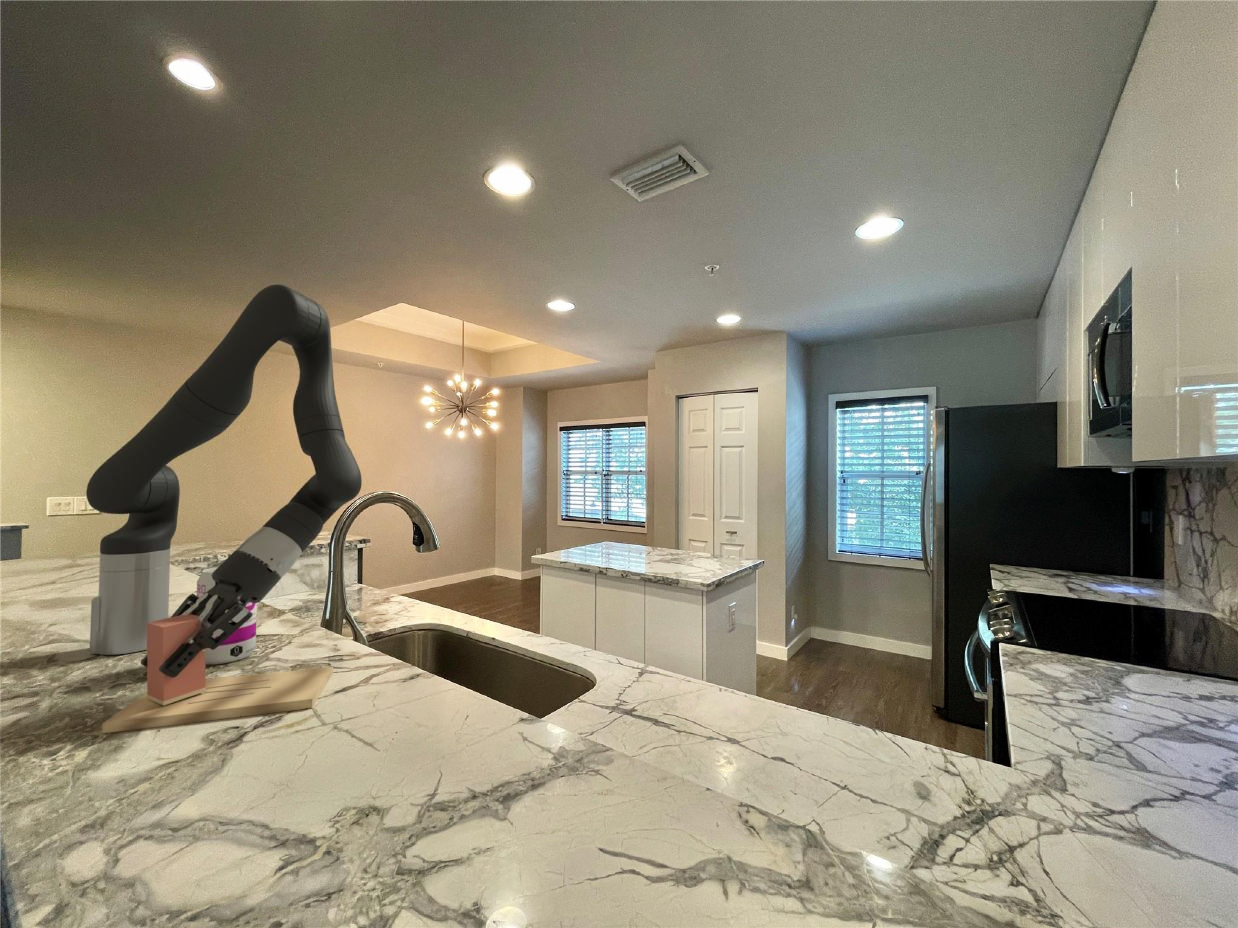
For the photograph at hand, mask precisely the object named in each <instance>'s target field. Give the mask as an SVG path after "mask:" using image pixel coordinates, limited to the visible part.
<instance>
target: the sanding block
mask: <svg viewBox="0 0 1238 928" xmlns="http://www.w3.org/2000/svg"><path fill="white" fill-rule="evenodd" d="M170 617H171V616H170ZM170 617H168V618H166V619H162V620H157V621H153V622H148V623H147V650H146V655H147V667H146V670H147V671H146V674H147V676H146V679H147V682H146V684H147V685H146V688H147V691H146V693H147V699H149V700H152V701H154V702H156V703H159V704H161V705H163V706H164V705H167V704H170V703H173V702H176V701H178V700H181V699H184V698H187V697H190V696H193V695H196V694H199V693H202V692H205V691H206V687H205V679H206V664H205V651H203V652H199V653H198V654H197V655H196V656H195V657H194V658H193V659H192V660H191V662H190V663H189V664H188V665H187V666H186V667H185V668H184V669H183V670H182V671H181V672H180V673H179V674H178V676H176V677H174V678H172V677H169V676H167V675H165V674H163V673H161V672H160V671H159V668H160V666H161V665H162V664H163V663H164V662H165V661H166V660H167V659H168V658H169V657H170V656H171V655H172V654H173V653H174V652H175V651H176V650H177V649H178V648H179V647H180V646H181V645H182V644H183V643H184V644H187V643H185V641H186V640H187V638H188V637H189V635H190V634H191V633H192V632H193V631H194V630H195V629H196V623H197V622H198V621H199V620H200V618H198V617H199V616H196V615H192V614H191V615H180V616H175V617H171V618H170ZM202 632H204V631H202Z"/></svg>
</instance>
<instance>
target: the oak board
mask: <svg viewBox="0 0 1238 928" xmlns="http://www.w3.org/2000/svg"><path fill="white" fill-rule="evenodd" d="M333 671H334V667H333V666H326V667H315V668H306V669H298V670H295V669H294V670H286V671H276V672H275V671H274V672H266V673H257V674H247V675H237V676H234V675H233V676H225V677H217V678H207V679H206V678H205V687H206V691H205V692H202V693H199V694H196V695H193V696H190V697H187V698H184V699H181V700H178V701H176V702H173V703H170V704H167V705H164V706H163V705H161V704H159V703H156V702H154V701H152V700H149V699H147V692H145V693H144V694H142V695H141V696H139V697H138V698H136V699H135V700H134V701H132V702H131V703H130V704H128V705H126V706H125V707H123V708H122V709H121V710H120V711H118V712H117V713H115V714H113V715H112V716H111V717H109V718H108V719H106V720H105V721H104V722H102V727H101V728H102V730H101V731H102V732H101V733H102V734H107V733H116V732H126V731H133V730H141V729H142V730H143V729H150V728H157V727H159V728H160V727H165V726H174V725H182V724H190V723H198V722H208V721H216V720H224V719H232V718H238V717H239V718H240V716H241V717H247V716H250V717H251V716H256V715H257V716H258V715H264V714H274V713H282V712H289V711H297V710H298V711H299V710H306V708H307V709H313V708H314V706H315V704H316V702H317V701H318V699H319V698H320V696H321V695H322V692H323V691H324V690H325V688H326V686H327V685H328V683H329V681H330V680H331V678H332V677H333V674H334V672H333Z"/></svg>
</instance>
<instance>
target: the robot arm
mask: <svg viewBox="0 0 1238 928" xmlns="http://www.w3.org/2000/svg"><path fill="white" fill-rule="evenodd" d="M330 325H331V324H330V319H329V316H328V313H327V311H326V310H325V308H324V307H323V306H322V305H321V304H319V303H318V302H317V301H315V300H313V299H312V298H310V297H307V296H305V295H304V294H302V293H301V292H298V291H297V290H295V289H293V288H291V287H289V286H287V285H284V284H271V285H267V286H266V287H264V288H263V289H261V290H260V291H259V292H257V293H256V294H255V295H254V296H253V297H252V299H251V300H250V301H249V302H248V304H247V305H246V307H244V309H243V311H242V313H240V315H239V316H238V318H237V319H236V321H235V322H234V324H233V325H232V327H231V328H230V329H229V330H228V332H227V334H225V336H224V338H223V339H222V340H221V341H220V343H219V344H218V345H217V346H216V347H215V348H214V350H213V351H212V352H211V353H210V354H209V355H208V357H207V358H206V359H205V360H204V361H203V363H202V364H201V365H200V366H199V367H198V368H197V369H196V370H195V371H194V372H193V373H192V374H191V375H190V376H189V377H188V378H187V379H186V380H185V382H184V383H182V385H181V386H180V387H179V388H178V389H177V390H176V391H175V393H173V395H172V396H171V397H170V398H169V400H168V401H167V402H166V403H165V405H164V406H163V407H161V409H160V410H159V411H158V412H157V413H156V414H155V415H154V416H153V417H152V418H151V419H150V420H149V421H148V422H147V423H146V424H145V425H144V426H143V427H142V428H141V429H140V430H139V431H138V432H137V433H136V434H135V435H134V436H133V437H132V438H131V439H130V440H129V441H127V442H126V443H125V444H124V445H123V446H122V447H120V448H118V450H117V451H116V452H115V453H114V454H112V455H111V456H110V457H109V458H108V459H106V460H105V461H104V462H103V463H102V464H101V465H100V466H99V467H98V468H97V469H96V470H95V471H94V473H93V474H92V476H91V477H90V478H89V480H88V482H87V486H86V493H85V494H86V500H87V502H88V504H89V506H90V507H91V508H92V509H93V510H95V511H97V512H100V513H103V514H110V515H128V517H127V521H126V523H124V524H123V526H122V527H120V528H118V529H117V530H115V531H113V532H111V533H109V534H106V535H105V536H103V537H102V538H101V539H100V545H99V567H98V569H99V572H98V596H96V597H93V598H92V599H91V603H90V604H91V605H90V630H89V631H90V634H89V635H90V636H89V655H95V654H96V655H103V656H104V655H105V656H109V655H111V656H112V655H122V654H130V653H137V652H141V651H147V623H148V622H153V621H157V620H162V619H166V618H171V617H175V616H180V615H191V614H192V615H196V616H199V617H198V618H200V620H199V621H198V622H197V623H196V629H195V630H194V631H193V632H192V633H191V634H190V635H189V637H188V638H187V640H186V641H185V643H187V644H184V643H183V644H182V645H181V646H180V647H179V648H178V649H177V650H176V651H175V652H174V653H173V654H172V655H171V656H170V657H169V658H168V659H167V660H166V661H165V662H164V663H163V664H162V665H161V666H160V668H159V671H160V672H161V673H163V674H165V675H167V676H169V677H172V678H174V677H176V676H178V674H179V673H180V672H181V671H182V670H183V669H184V668H185V667H186V666H187V665H188V664H189V663H190V662H191V660H192V659H193V658H194V657H195V656H196V655H197V654H198V653H199V652H203V651H205V650H206V649H207V648H210V649H211V650H214V649H216V648H217V647H218V646H219V645H220V644H221V643H223V642H224V641H225V640H226V639H227V638H228V637H229V636H231V635H232V634H233V633H234V632H235V631H236V630H237V629H238V628H240V627H241V626H242V625H243V624H244V623H245V622H246V621H247V620H249V619H250V618H251V617H252V615H253V613H251V612H250V611H249V610H248V609H246V608H245V607H246V605H247V603H248V602H251V603H257V604H258V603H260V602H262V600H263V599H264V598H265V597H266V596H267V595H268V594H269V593H270V592H271V591H272V590H273V588H274V587H276V585H277V584H278V583H279V582H280V580H281V579H282V578H283V577H284V576H285V575H286V574H287V573H288V572H289V571H290V570H291V569H292V567H293V566H294V565H295V563H296V562H297V560H298V559H299V558H300V557H301V555H302V554H303V553H304V551H305V550H307V548H308V547H309V546H310V545H311V544H312V543H313V541H314V540H315V539H316V538H318V536H319V535H320V533H321V532H322V530H323V528H324V525H325V524H326V523H327V521H329V520H330V518H332V516H333V515H334V514H335V513H336V512H337V511H338V510H339V509H341V508H342V506H344V505H345V504H348V503H349V502H350V501H352V500H354V499H355V498H356V497H357V496H358V495H359V493H360V491H361V489H362V485H363V484H362V483H363V482H362V481H363V480H362V473H361V470H360V467H359V465H358V462H357V460H356V458H355V456H354V454H353V452H352V449H351V448H350V446H349V444H348V443H347V440H346V436H345V431H344V426H343V423H342V417H341V415H340V414H341V413H340V411H339V406H338V402H337V397H336V390H335V381H334V370H333V367H334V365H333V355H332V353H333V351H332V336H331V326H330ZM278 342H282V343H285V344H287V345H289V346H291V348H292V350H293V352H294V354H295V357H296V360H297V363H298V367H299V368H298V370H299V375H298V376H299V377H298V378H299V379H298V382H297V387H296V391H295V393H294V397H293V401H292V412H293V413H292V415H293V416H292V417H293V421H294V425H295V429H296V433H297V438H298V442H299V446H300V448H301V451H302V452H303V454H305V455H306V456H309V457H310V459H311V461H312V465H313V468H314V472H315V474H313V476H311V477H310V478H309V479H308V480H307V481H306V482H305V483H304V484H303V485H302V487H301V488H300V489H299V490H298V491H297V492H296V493H295V494H294V496H293V497H292V498H291V499H290V500H289V502H288V503H287V504H286V505H284V506H282V507H281V508H280V509H279V510H278V511H276V513H274V515H272V516H271V517H270V519H269V520H267V521H266V522H265V523H264V524H263V525H262V527H260V528H259V529H258V530H257V531H255V532H254V533H252V534H251V535H250V536H249V537H248V538H246V539H245V540H244V541H243V542H242V543H241V544H240V545H239V546H238V547H237V548H236V549H234V551H233V552H232V553H231V554H230V555H228V557H227V558H226V559H225V560H224V561H223V562H221V564H220V565H219V566H217V567H218V568H217V569H216V570H215V571H214V572H213V573H212V579H213V580H214V581H215V586H214V587H212V588H211V589H210V590H209V591H207V592H206V593H205V594H203V595H202V596H201V597H197V594H195V593H190V594H189V595H188V596H187V597H185V599H184V600H183V602H182V603H181V604H180V605H179V606H178V607H177V609H176V610H175V611H174V612H173V614H172V615H171V616H170V617H169V608H170V607H169V606H170V573H171V572H170V570H171V569H170V568H171V567H170V566H171V565H170V564H171V545H172V539H173V537H174V536H175V533H176V530H177V526H178V517H179V515H178V514H179V504H180V494H181V492H180V491H181V490H180V482H179V478H178V475H177V473H176V471H174V469H173V468H171V467H170V466H168V464H169V463H171V461H174V460H176V459H177V458H178V457H180V456H182V455H183V454H186V453H188V452H189V451H192V450H193V449H196V448H198V447H199V446H202V445H204V444H206V443H207V442H209V441H211V440H213V439H214V438H216V437H218V436H220V434H222V433H224V432H225V431H226V430H227V429H228V428H229V427H230V426H231V425H232V424H233V423H234V421H236V419H238V417H239V416H240V415H242V413H243V411H245V409H246V408H247V406H248V405H249V403H250V401H251V399H252V393H253V385H254V377H255V371H256V368H257V366H258V364H259V362H260V361H261V359H262V358H263V357H264V356H265V354H266V353H267V352H268V351H269V350H270V349H271V348H272V347H273V346H274V345H275V344H276V343H278ZM202 631H204V632H202ZM216 636H218V637H217V638H216V639H215V637H216ZM140 665H142V666H144V667H145V668H147V654H146V655H145V656H144V657H143V658H142V659H141V661H140Z"/></svg>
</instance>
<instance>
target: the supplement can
mask: <svg viewBox="0 0 1238 928" xmlns="http://www.w3.org/2000/svg"><path fill="white" fill-rule="evenodd" d="M218 567H219V566H217V567H211V568H206V569H203V570H202V571H201V574H200V575H199V577H198V578H197V580H196V596H197V597H201V596H202V595H203V594H205V593H206V592H207V591H209V590H210V589H211V588H212V587H214V586H215V581H214V580H213V579H212V573H213V572H214V571H215V570H216V569H217V568H218ZM257 606H258V603H251V602H248V603H247V605H246V607H245V608H246V609H248V610H249V611H250V612H251V613H253V615H252V617H251V618H250V619H249V620H247V621H246V622H245V623H244V624H243V625H242V626H241V627H240V628H238V629H237V630H236V631H235V632H234V633H233V634H232V635H231V636H229V637H228V638H227V639H226V640H225V641H224V642H223V643H221V644H220V645H219V646H218V647H217V648H216V649H214V650H211V649H210V648H207V649H206V650H205V665H206V666H207V665H221V664H228V663H232V662H236V661H239V660H243V659H245V658H248V657H249V656H250V655H252V653H253V652H254V651H255V650H256V647H257V646H256V645H257V612H258V611H257V609H258V607H257ZM217 637H218V636H216V637H215V639H216V638H217Z"/></svg>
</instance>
